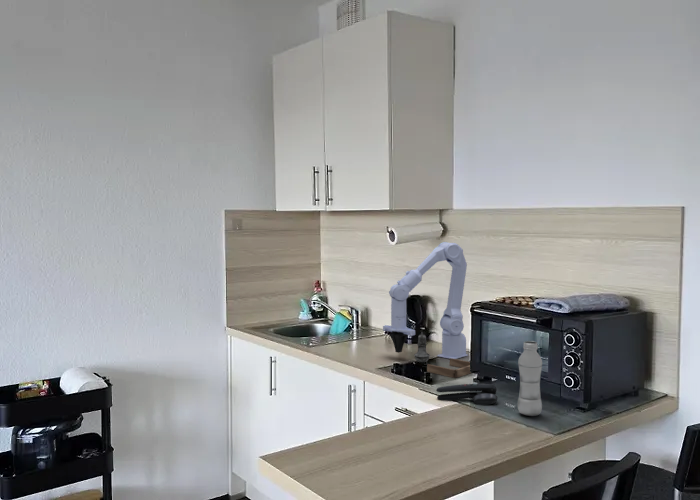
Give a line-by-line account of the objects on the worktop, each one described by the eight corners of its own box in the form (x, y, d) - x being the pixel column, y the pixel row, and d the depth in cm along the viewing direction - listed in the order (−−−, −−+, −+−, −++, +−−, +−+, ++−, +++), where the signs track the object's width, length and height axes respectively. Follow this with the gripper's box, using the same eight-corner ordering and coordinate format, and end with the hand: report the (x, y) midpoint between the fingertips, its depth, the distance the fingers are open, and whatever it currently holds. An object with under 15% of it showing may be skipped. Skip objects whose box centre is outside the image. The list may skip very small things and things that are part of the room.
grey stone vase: (411, 365, 229) (411, 332, 228) (417, 362, 234) (417, 330, 233) (426, 367, 226) (426, 334, 225) (432, 363, 231) (432, 331, 230)
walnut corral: (451, 364, 229) (451, 358, 229) (479, 370, 220) (479, 363, 220) (427, 371, 219) (427, 364, 219) (455, 378, 211) (455, 370, 210)
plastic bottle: (518, 418, 169) (519, 344, 168) (515, 410, 176) (516, 339, 175) (543, 419, 168) (544, 345, 167) (539, 411, 175) (540, 340, 174)
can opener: (497, 399, 187) (497, 381, 186) (497, 406, 180) (497, 387, 180) (437, 396, 191) (437, 377, 190) (435, 402, 184) (435, 383, 184)
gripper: (377, 315, 239) (377, 350, 240) (406, 319, 229) (406, 356, 230) (389, 313, 244) (389, 347, 245) (418, 317, 234) (418, 353, 235)
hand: (398, 351), depth 238 cm, fingers closed
